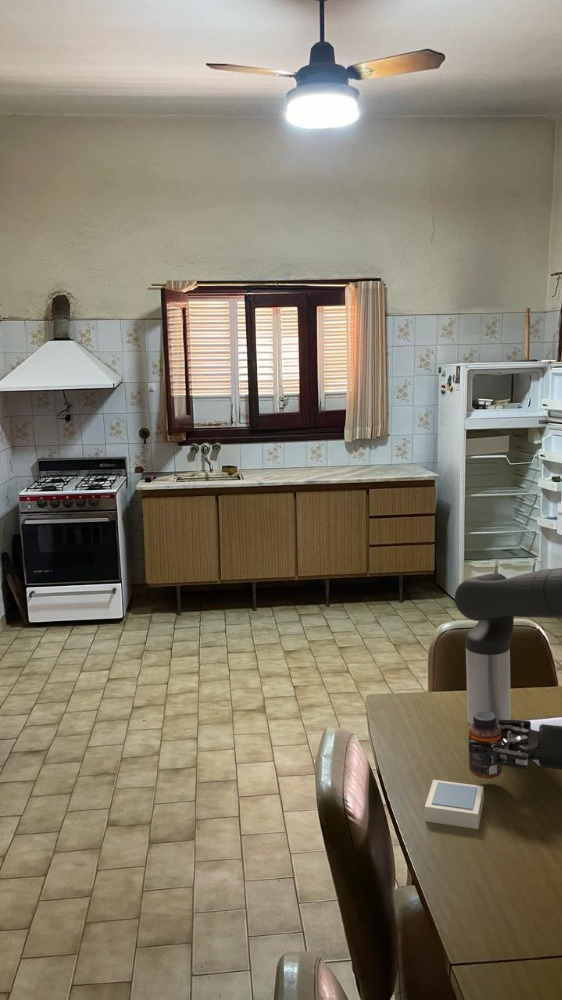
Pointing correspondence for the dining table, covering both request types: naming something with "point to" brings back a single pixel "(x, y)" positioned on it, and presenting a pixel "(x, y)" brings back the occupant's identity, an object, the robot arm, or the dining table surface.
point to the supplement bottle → (488, 732)
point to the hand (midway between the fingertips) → (471, 737)
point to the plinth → (454, 804)
